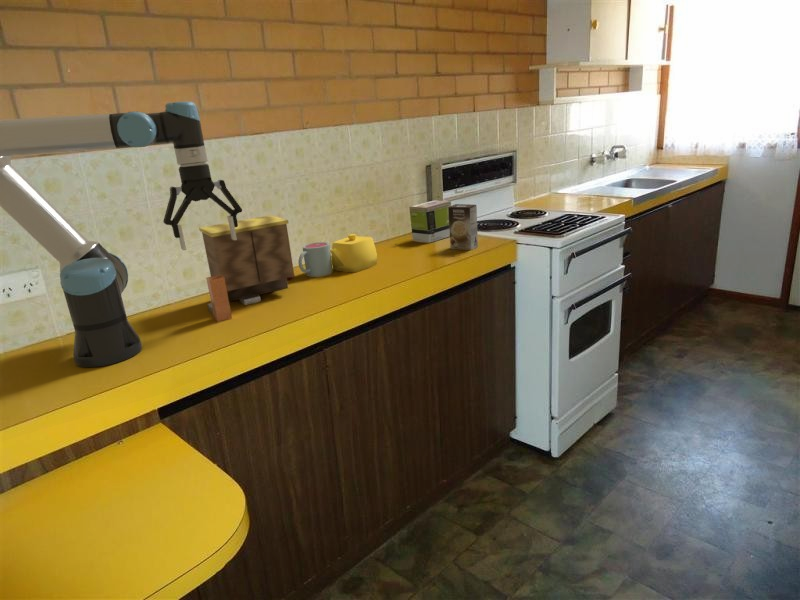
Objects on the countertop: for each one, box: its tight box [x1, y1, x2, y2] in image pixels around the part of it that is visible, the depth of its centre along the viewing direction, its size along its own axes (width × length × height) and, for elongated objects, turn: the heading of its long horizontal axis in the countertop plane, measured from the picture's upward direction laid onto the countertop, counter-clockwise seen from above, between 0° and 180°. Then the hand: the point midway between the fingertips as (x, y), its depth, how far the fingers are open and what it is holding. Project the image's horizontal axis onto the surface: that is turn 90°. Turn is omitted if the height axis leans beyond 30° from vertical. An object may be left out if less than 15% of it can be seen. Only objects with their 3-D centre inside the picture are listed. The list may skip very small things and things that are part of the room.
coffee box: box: [448, 203, 479, 251], centre depth 214 cm, size 9×6×16 cm
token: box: [239, 293, 262, 306], centre depth 175 cm, size 5×5×2 cm
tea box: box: [408, 199, 452, 244], centre depth 235 cm, size 15×10×15 cm
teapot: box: [330, 233, 378, 273], centre depth 202 cm, size 20×12×12 cm, turn 142°
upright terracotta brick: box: [205, 275, 233, 322], centre depth 164 cm, size 4×14×12 cm, turn 31°
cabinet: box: [199, 215, 295, 303], centre depth 176 cm, size 23×15×23 cm, turn 121°
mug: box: [298, 241, 334, 278], centre depth 197 cm, size 14×9×10 cm
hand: (209, 244), depth 155 cm, fingers open, 13 cm apart
